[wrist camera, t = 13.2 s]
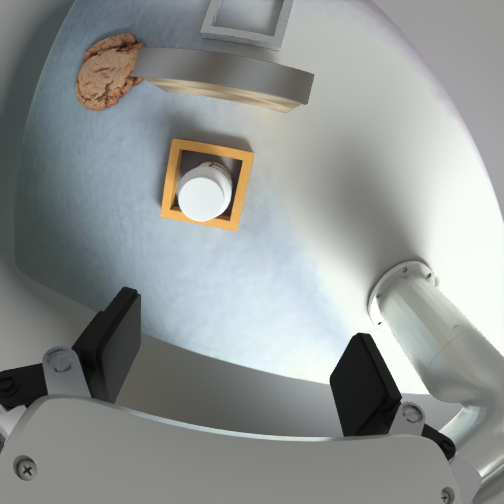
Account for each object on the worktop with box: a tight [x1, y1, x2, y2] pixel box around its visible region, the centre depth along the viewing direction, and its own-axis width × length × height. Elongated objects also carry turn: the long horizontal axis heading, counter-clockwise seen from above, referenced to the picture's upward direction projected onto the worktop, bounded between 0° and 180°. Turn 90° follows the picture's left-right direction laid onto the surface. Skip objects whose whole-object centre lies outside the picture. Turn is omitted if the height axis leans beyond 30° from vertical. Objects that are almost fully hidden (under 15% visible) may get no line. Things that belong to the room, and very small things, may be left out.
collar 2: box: [160, 139, 254, 231], centre depth 30 cm, size 9×9×2 cm
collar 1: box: [200, 0, 293, 51], centre depth 22 cm, size 9×9×2 cm
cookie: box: [75, 33, 146, 111], centre depth 24 cm, size 10×11×3 cm
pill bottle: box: [177, 162, 233, 222], centre depth 27 cm, size 5×5×9 cm
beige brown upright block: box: [132, 47, 314, 113], centre depth 22 cm, size 14×3×11 cm, turn 77°
